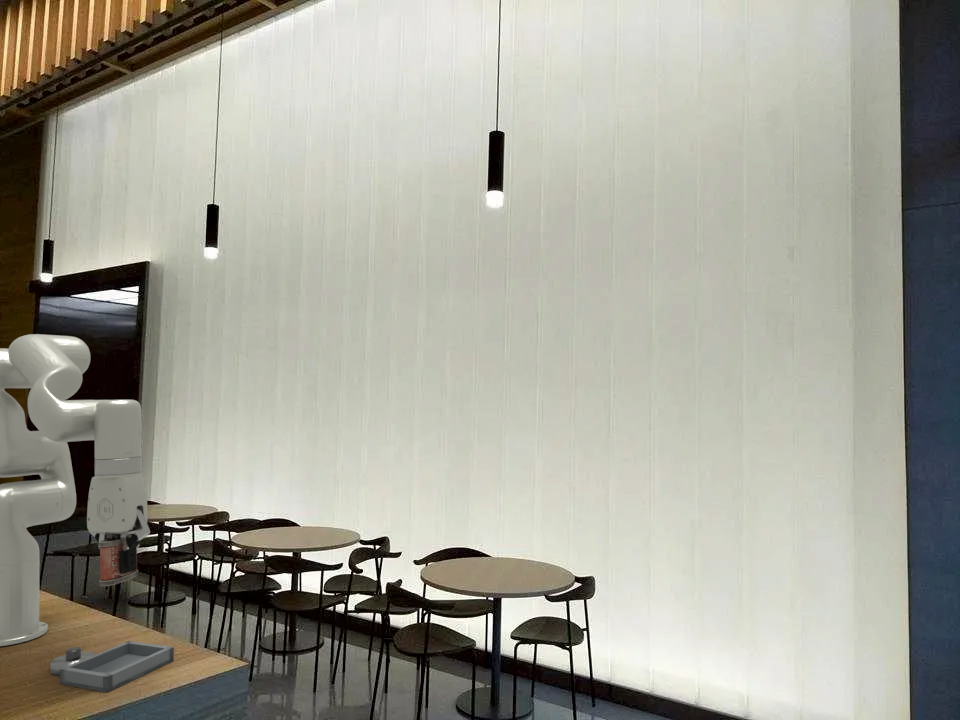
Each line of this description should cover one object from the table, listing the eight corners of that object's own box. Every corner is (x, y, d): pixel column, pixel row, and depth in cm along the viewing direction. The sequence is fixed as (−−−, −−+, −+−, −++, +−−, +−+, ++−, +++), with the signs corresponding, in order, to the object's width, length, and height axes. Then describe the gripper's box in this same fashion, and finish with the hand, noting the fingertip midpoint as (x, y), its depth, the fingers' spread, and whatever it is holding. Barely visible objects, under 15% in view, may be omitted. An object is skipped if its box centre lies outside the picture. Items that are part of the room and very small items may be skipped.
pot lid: (41, 672, 122) (41, 654, 122) (77, 658, 128) (77, 640, 128) (69, 677, 119) (69, 658, 119) (104, 662, 126) (104, 644, 126)
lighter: (111, 586, 118) (110, 527, 119) (94, 586, 119) (93, 527, 119) (142, 574, 126) (142, 519, 126) (126, 574, 127) (126, 519, 127)
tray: (59, 684, 116) (59, 669, 116) (129, 654, 129) (129, 640, 129) (107, 692, 112) (107, 676, 112) (173, 660, 125) (173, 647, 126)
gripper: (66, 470, 123) (66, 574, 122) (135, 470, 117) (136, 579, 116) (102, 466, 130) (103, 564, 129) (170, 465, 124) (171, 568, 123)
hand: (119, 570), depth 122 cm, fingers closed on lighter, 3 cm apart
